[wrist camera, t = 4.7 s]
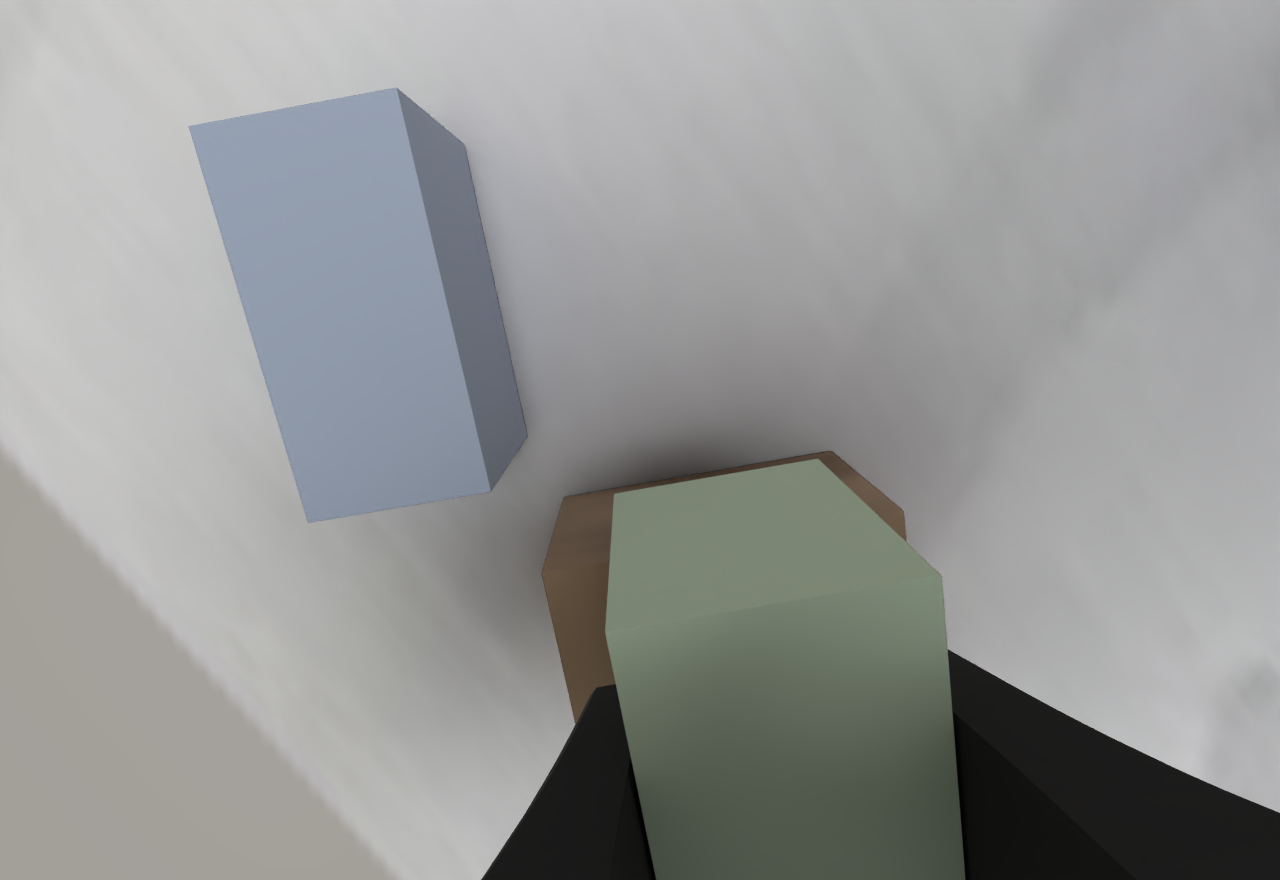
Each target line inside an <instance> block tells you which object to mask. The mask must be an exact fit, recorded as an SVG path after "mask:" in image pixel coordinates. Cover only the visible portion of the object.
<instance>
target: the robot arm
mask: <svg viewBox="0 0 1280 880" xmlns="http://www.w3.org/2000/svg"><path fill="white" fill-rule="evenodd" d="M948 662H949V675H950V688H951V701H952V713H953V726H954V739H955V752H956V765H957V778H958V791H959V803H960V816H961V829H962V842H963V855H964V868H965V880H1280V813H1278V812H1276V811H1274V810H1271V809H1269V808H1266V807H1264V806H1261V805H1259V804H1257V803H1254V802H1252V801H1249V800H1247V799H1244V798H1242V797H1240V796H1237V795H1235V794H1232V793H1230V792H1227V791H1225V790H1223V789H1220V788H1218V787H1216V786H1214V785H1211V784H1209V783H1207V782H1204V781H1202V780H1200V779H1198V778H1195V777H1193V776H1191V775H1189V774H1186V773H1184V772H1182V771H1180V770H1178V769H1175V768H1173V767H1171V766H1169V765H1167V764H1165V763H1163V762H1161V761H1159V760H1157V759H1155V758H1152V757H1150V756H1148V755H1146V754H1144V753H1142V752H1140V751H1138V750H1136V749H1134V748H1132V747H1130V746H1127V745H1125V744H1123V743H1121V742H1119V741H1117V740H1115V739H1113V738H1111V737H1109V736H1107V735H1105V734H1103V733H1101V732H1099V731H1097V730H1095V729H1093V728H1091V727H1089V726H1087V725H1085V724H1083V723H1081V722H1079V721H1077V720H1075V719H1073V718H1071V717H1070V716H1068V715H1066V714H1064V713H1062V712H1060V711H1058V710H1056V709H1054V708H1053V707H1051V706H1049V705H1047V704H1045V703H1043V702H1041V701H1040V700H1038V699H1036V698H1034V697H1032V696H1030V695H1028V694H1027V693H1025V692H1023V691H1021V690H1019V689H1018V688H1016V687H1014V686H1012V685H1010V684H1008V683H1007V682H1005V681H1003V680H1001V679H1000V678H998V677H996V676H994V675H992V674H991V673H989V672H987V671H985V670H984V669H982V668H980V667H978V666H976V665H975V664H973V663H971V662H969V661H968V660H966V659H964V658H962V657H960V656H959V655H957V654H955V653H953V652H952V651H950V650H948ZM481 880H656V877H655V872H654V867H653V862H652V857H651V852H650V847H649V843H648V838H647V833H646V828H645V823H644V818H643V814H642V809H641V804H640V799H639V794H638V789H637V784H636V780H635V775H634V770H633V765H632V760H631V755H630V751H629V746H628V741H627V736H626V731H625V726H624V721H623V717H622V712H621V707H620V702H619V697H618V692H617V688H616V684H613V685H607V686H601V687H596V689H595V690H594V691H593V693H592V694H591V695H590V697H589V699H588V701H587V703H586V705H585V707H584V709H583V711H582V713H581V715H580V717H579V719H578V721H577V723H576V725H575V727H574V729H573V731H572V733H571V735H570V736H569V738H568V740H567V742H566V744H565V746H564V748H563V749H562V751H561V753H560V755H559V757H558V759H557V760H556V762H555V764H554V766H553V767H552V769H551V771H550V772H549V774H548V776H547V778H546V779H545V781H544V783H543V784H542V786H541V788H540V790H539V791H538V793H537V795H536V796H535V798H534V800H533V801H532V803H531V805H530V806H529V808H528V810H527V811H526V813H525V815H524V816H523V818H522V819H521V821H520V822H519V824H518V825H517V827H516V828H515V830H514V831H513V833H512V834H511V836H510V837H509V839H508V840H507V842H506V843H505V845H504V846H503V848H502V849H501V851H500V852H499V854H498V856H497V857H496V859H495V860H494V862H493V863H492V865H491V866H490V868H489V869H488V871H487V872H486V874H485V875H484V876H483V878H482V879H481Z"/></svg>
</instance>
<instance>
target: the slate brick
mask: <svg viewBox="0 0 1280 880" xmlns="http://www.w3.org/2000/svg"><path fill="white" fill-rule="evenodd" d="M189 129H190V133H191V136H192V139H193V143H194V146H195V149H196V153H197V156H198V159H199V163H200V166H201V169H202V173H203V176H204V179H205V183H206V186H207V189H208V193H209V196H210V199H211V202H212V206H213V209H214V212H215V216H216V219H217V222H218V226H219V229H220V232H221V236H222V239H223V242H224V246H225V249H226V252H227V256H228V259H229V262H230V266H231V269H232V272H233V276H234V279H235V282H236V285H237V289H238V292H239V295H240V299H241V302H242V305H243V309H244V312H245V315H246V319H247V322H248V325H249V329H250V332H251V335H252V339H253V342H254V345H255V349H256V352H257V355H258V359H259V362H260V365H261V368H262V372H263V375H264V378H265V382H266V385H267V388H268V392H269V395H270V398H271V402H272V405H273V408H274V412H275V415H276V418H277V422H278V425H279V428H280V432H281V435H282V438H283V442H284V445H285V448H286V451H287V455H288V458H289V461H290V465H291V468H292V471H293V475H294V478H295V481H296V485H297V488H298V491H299V495H300V498H301V501H302V505H303V508H304V511H305V515H306V518H307V521H308V523H311V522H317V521H323V520H329V519H335V518H341V517H347V516H352V515H358V514H364V513H370V512H376V511H382V510H387V509H393V508H399V507H405V506H411V505H417V504H422V503H428V502H434V501H440V500H446V499H452V498H457V497H463V496H469V495H475V494H481V493H487V492H491V491H492V489H493V488H494V486H495V485H496V483H497V482H498V480H499V479H500V477H501V476H502V474H503V473H504V471H505V470H506V468H507V467H508V465H509V464H510V462H511V461H512V459H513V458H514V456H515V454H516V453H517V451H518V450H519V448H520V447H521V445H522V444H523V442H524V441H525V439H526V438H527V432H526V428H525V423H524V418H523V414H522V409H521V404H520V400H519V395H518V391H517V386H516V381H515V377H514V372H513V367H512V363H511V358H510V354H509V349H508V344H507V340H506V335H505V331H504V326H503V321H502V317H501V312H500V307H499V303H498V298H497V294H496V289H495V284H494V280H493V275H492V270H491V266H490V261H489V257H488V252H487V247H486V243H485V238H484V234H483V229H482V224H481V220H480V215H479V210H478V206H477V201H476V197H475V192H474V187H473V183H472V178H471V173H470V169H469V164H468V160H467V155H466V150H465V146H464V144H463V143H462V142H461V141H460V140H459V139H457V138H456V137H455V136H454V135H453V134H452V133H450V132H449V131H448V130H447V129H446V128H444V127H443V126H442V125H441V124H440V123H438V122H437V121H436V120H435V119H434V118H432V117H431V116H430V115H429V114H428V113H426V112H425V111H424V110H423V109H422V108H420V107H419V106H418V105H417V104H416V103H414V102H413V101H412V100H411V99H410V98H408V97H407V96H406V95H405V94H404V93H402V92H401V91H400V90H399V89H398V88H391V89H386V90H381V91H375V92H370V93H365V94H359V95H354V96H349V97H343V98H338V99H332V100H327V101H322V102H316V103H311V104H306V105H300V106H295V107H289V108H284V109H279V110H273V111H268V112H263V113H257V114H252V115H247V116H241V117H236V118H230V119H225V120H220V121H214V122H209V123H204V124H198V125H193V126H189Z"/></svg>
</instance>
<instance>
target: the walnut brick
mask: <svg viewBox="0 0 1280 880" xmlns="http://www.w3.org/2000/svg"><path fill="white" fill-rule="evenodd" d="M813 459H819V460H820V461H821V462H822V463H823V464H824V465H825V466H826V467H827V468H828V469H829V470H830V471H832V472H833V473H834V474H835V475H836V476H837V477H838V478H839V479H840V480H841V481H842V482H843V483H844V484H845V485H846V486H847V487H849V488H850V489H851V490H852V491H853V492H854V493H855V494H856V495H857V496H858V497H859V498H860V499H861V500H862V501H863V502H864V503H865V504H867V505H868V506H869V507H870V508H871V509H872V510H873V511H874V512H875V513H876V514H877V515H878V516H879V517H880V518H881V519H882V520H883V521H885V522H886V523H887V524H888V525H889V526H890V527H891V528H892V529H893V530H894V531H895V532H896V533H897V534H898V535H899V536H900V537H901V538H903V539H904V540H905V541H906V530H905V519H904V511H903V510H902V509H901V508H900V507H898V506H897V505H896V504H895V503H894V502H892V501H891V500H890V499H889V498H888V497H886V496H885V495H884V494H883V493H882V492H881V491H879V490H878V489H877V488H876V487H875V486H873V485H872V484H871V483H870V482H869V481H867V480H866V479H865V478H864V477H863V476H861V475H860V474H859V473H858V472H857V471H855V470H854V469H853V468H852V467H851V466H849V465H848V464H847V463H846V462H845V461H843V460H842V459H841V458H840V457H839V456H837V455H836V454H835V453H834V452H833V451H828V452H822V453H816V454H811V455H805V456H799V457H793V458H788V459H782V460H776V461H770V462H765V463H759V464H753V465H747V466H741V467H736V468H730V469H724V470H718V471H713V472H707V473H701V474H695V475H690V476H684V477H678V478H672V479H667V480H661V481H655V482H649V483H643V484H638V485H632V486H626V487H620V488H615V489H609V490H603V491H597V492H592V493H586V494H580V495H574V496H569V497H564V498H563V501H562V505H561V508H560V511H559V515H558V518H557V522H556V525H555V528H554V532H553V535H552V539H551V542H550V545H549V549H548V552H547V556H546V559H545V562H544V566H543V569H542V578H543V582H544V587H545V591H546V596H547V600H548V604H549V609H550V613H551V618H552V622H553V627H554V631H555V635H556V640H557V644H558V649H559V653H560V658H561V662H562V667H563V671H564V675H565V680H566V684H567V689H568V693H569V698H570V702H571V706H572V711H573V715H574V720H575V724H576V723H577V721H578V719H579V717H580V715H581V713H582V711H583V709H584V707H585V705H586V703H587V701H588V699H589V697H590V695H591V694H592V693H593V691H594V690H595V689H596V687H601V686H607V685H613V684H616V683H615V678H614V673H613V668H612V663H611V658H610V654H609V649H608V644H607V639H606V634H605V625H606V610H607V595H608V579H609V564H610V549H611V534H612V518H613V503H614V494H616V493H622V492H627V491H633V490H639V489H645V488H651V487H656V486H662V485H668V484H674V483H680V482H685V481H691V480H697V479H703V478H709V477H714V476H720V475H726V474H732V473H737V472H743V471H749V470H755V469H761V468H766V467H772V466H778V465H784V464H790V463H795V462H801V461H807V460H813ZM906 542H907V541H906Z"/></svg>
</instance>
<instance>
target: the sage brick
mask: <svg viewBox="0 0 1280 880" xmlns="http://www.w3.org/2000/svg"><path fill="white" fill-rule="evenodd" d="M605 634H606V639H607V644H608V649H609V654H610V658H611V663H612V668H613V673H614V678H615V683H616V688H617V692H618V697H619V702H620V707H621V712H622V717H623V721H624V726H625V731H626V736H627V741H628V746H629V751H630V755H631V760H632V765H633V770H634V775H635V780H636V784H637V789H638V794H639V799H640V804H641V809H642V814H643V818H644V823H645V828H646V833H647V838H648V843H649V847H650V852H651V857H652V862H653V867H654V872H655V877H656V880H965V868H964V855H963V842H962V829H961V816H960V803H959V791H958V778H957V765H956V752H955V739H954V726H953V713H952V701H951V688H950V675H949V662H948V649H947V636H946V624H945V611H944V598H943V585H942V575H941V574H940V573H939V572H938V571H936V570H935V569H934V568H933V567H932V566H931V565H930V564H929V563H928V562H927V561H926V560H925V559H924V558H923V557H922V556H921V555H919V554H918V553H917V552H916V551H915V550H914V549H913V548H912V547H911V546H910V545H909V544H908V543H907V542H906V541H905V540H904V539H903V538H901V537H900V536H899V535H898V534H897V533H896V532H895V531H894V530H893V529H892V528H891V527H890V526H889V525H888V524H887V523H886V522H885V521H883V520H882V519H881V518H880V517H879V516H878V515H877V514H876V513H875V512H874V511H873V510H872V509H871V508H870V507H869V506H868V505H867V504H865V503H864V502H863V501H862V500H861V499H860V498H859V497H858V496H857V495H856V494H855V493H854V492H853V491H852V490H851V489H850V488H849V487H847V486H846V485H845V484H844V483H843V482H842V481H841V480H840V479H839V478H838V477H837V476H836V475H835V474H834V473H833V472H832V471H830V470H829V469H828V468H827V467H826V466H825V465H824V464H823V463H822V462H821V461H820V460H819V459H813V460H807V461H801V462H795V463H790V464H784V465H778V466H772V467H766V468H761V469H755V470H749V471H743V472H737V473H732V474H726V475H720V476H714V477H709V478H703V479H697V480H691V481H685V482H680V483H674V484H668V485H662V486H656V487H651V488H645V489H639V490H633V491H627V492H622V493H616V494H614V503H613V518H612V534H611V549H610V564H609V579H608V595H607V610H606V625H605Z"/></svg>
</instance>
